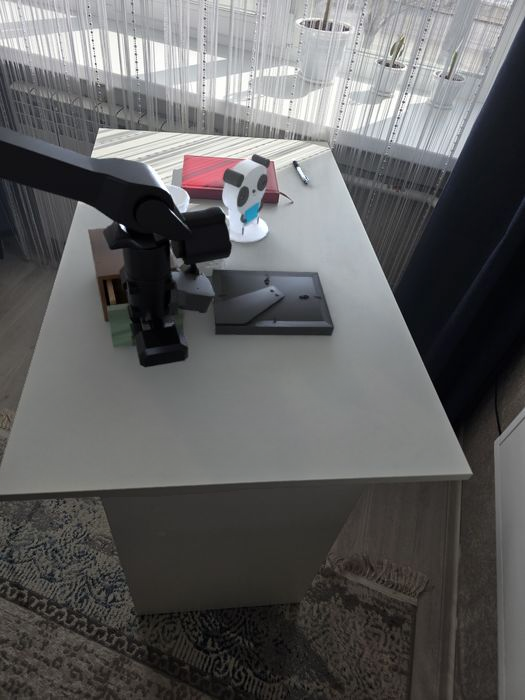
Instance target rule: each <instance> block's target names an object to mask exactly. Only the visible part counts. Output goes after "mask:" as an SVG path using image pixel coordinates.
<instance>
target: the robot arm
mask: <svg viewBox="0 0 525 700" xmlns="http://www.w3.org/2000/svg"><path fill="white" fill-rule="evenodd" d="M0 180H4V181H7V182H11V183H14V184H18V185H22V186H25V187H28V188H32V189H36V190H38V191H41V192H46V193H49V194H52V195H56V196H59V197H63V198H66V199H71V200H73V201H76V202H80V203H82V204H85V205H88V206H90V207H92V208H94V209H95V210H97V211H98V212H100V213H102V215H104V216H105V217H107V218H108V219H110V220H111V221H112V223H111V224H110V225H108V226H106V227H105V228H106V229H104V230H103V235H104V237H105V240H106V242H107V244H108V247H109V249H110V250H117V249H123V257H124V266H123V267H122V268H121V269H120V270H119V272H120V279H121V284H122V288H123V291H127V297H128V302H129V305H128V306H127V309H128V313H129V317H130V320H131V321H132V323H133V325H131V326H132V330H133V335H134V338H135V344H136V346H135V349H136V354H137V358H138V362H139V366H140V367H143V368H151V367H158V366H162V365H163V366H164V365H168V364H174V363H179V362H186V360H187V359H188V358H189V345H188V342H187V340H186V337H185V332H184V333H183V330H182V329H181V328H179V327H177V325H176V322H175V319H173V317H172V316H173V315H178V308H179V309H182V310H184V311H187V312H195V313H199V314H202V315H203V314H207V312H208V310H209V309H210V306H211V304H212V302H213V298H214V296H215V293H214V291H213V285H212V284H211V281H210V280H209V278H208V277H207V276H205V275H204V273H201V275H200V273H199V268H198V266H197V263H202V262H207V261H212V260H218V259H223V258H226V259H228V258H229V257H230V255H231V254H232V248H233V245H232V240H230V237H229V231H228V227H227V225H226V222H225V219H226V216H227V214H226V213H225V212H224V211H223V208H222V207H221V206H219V205H217V206H210V207H208V208H204V209H198V210H190V211H186V212H183V213H180V211H179V209H178V208H177V206H176V205H175V203H174V201H173V199H172V196H171V195H170V193H169V191H168V190H167V188H166V187H165V185H164V184H165V183H164V182H163V180H162V179H161V178H160V176H159V174H158V173H157V172H156V171H155V169H154V167H152V166H151V165H149V164H147V163H144V162H142V161H136V160H131V159H125V158H120V157H105V158H97V157H92V156H87V155H83V154H81V153H78V152H76V151H73V150H70V149H67V148H64V147H62V146H58V145H55V144H54V143H53V144H52V143H50V142H48V141H44V140H43V139H42V140H41V139H39V138H36V137H33V136H30V135H27V134H24V133H21V132H20V131H16V130H13V129H10V128H8V127H6V126H2V125H0ZM170 242H171V243H170ZM170 250H171V252H172V255H173V257H174V258H175V259H176V260H178V259H181V260H182V262H183V263H182V264H181V265H180V266H178V267H177V271H175V272H172V270H171V259H170ZM127 289H128V290H127Z"/></svg>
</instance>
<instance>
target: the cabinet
mask: <svg viewBox="0 0 525 700" xmlns="http://www.w3.org/2000/svg"><path fill="white" fill-rule="evenodd" d="M106 228H107V227H102V228H101V227H100V228H90V229H89V228H88V230H87V232H88V238H89V243H90V248H91V255H92V261H93V264H94V272H95V277H96V281H97V286H98V292H99V293H98V294H99V297H100V302H101V303H100V304H101V309H102V313H103V320H104V323H107V322H109V318H108V312H107V306H110V303H109V298H108V293H107V287H106V281H105V280H107V279H115V278H120V272H119V270H120V269H121V268H122V267H123V266H124V257H123V249H117V250H110V249H109V247H108V244H107V242H106V240H105V237H104V235H103V230H104V229H106ZM170 259H171V270H172V272H175V271H177V269H178V267H177V264H176V261H175V257H174V255H173V252H172V249H170Z"/></svg>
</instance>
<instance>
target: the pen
mask: <svg viewBox="0 0 525 700" xmlns="http://www.w3.org/2000/svg"><path fill="white" fill-rule="evenodd" d="M292 164H293V166H294V168H295V169H296V171H297V173H298V174H299V176H300V178H301V179H302V182H303V183H304V184H305V185H308V184H309V177H308V176H307V175H305V173H304V172H303V171H302V169H301V166H300V165H299V163H298V161H297V160H296V159H295V158H293V159H292Z"/></svg>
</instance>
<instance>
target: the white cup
mask: <svg viewBox="0 0 525 700" xmlns="http://www.w3.org/2000/svg"><path fill="white" fill-rule="evenodd" d="M225 222H226V225H227V227H228V231H229V235H230V227H231V222H230V220H229V219H228V218H227V217H226V219H225ZM226 260H227V258H223V259H218V260H212V261H207V262H202V263H197V266H198V268H199V273H200V275H201V273H204V275H205V277H212V276H213V270H226Z"/></svg>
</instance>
